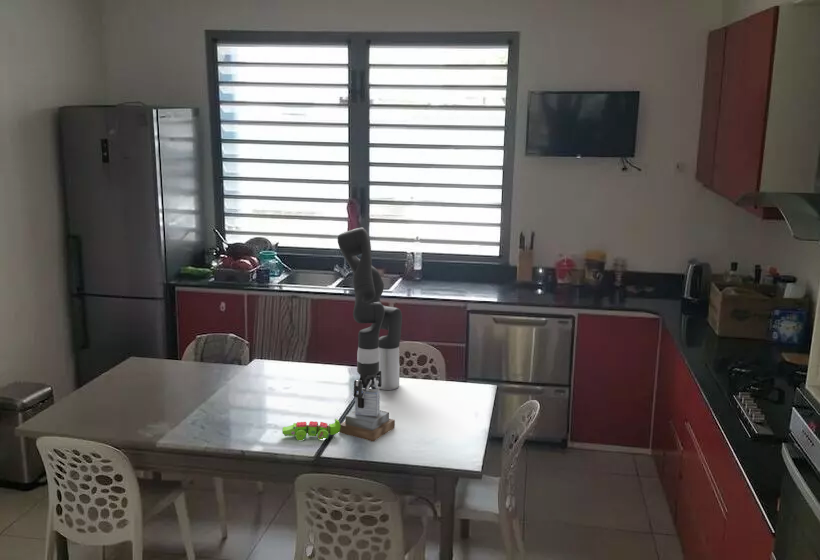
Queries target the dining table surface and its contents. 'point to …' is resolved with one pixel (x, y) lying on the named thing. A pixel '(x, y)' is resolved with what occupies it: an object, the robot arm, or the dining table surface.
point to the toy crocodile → (311, 429)
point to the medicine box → (369, 403)
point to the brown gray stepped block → (367, 425)
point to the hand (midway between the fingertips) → (367, 403)
